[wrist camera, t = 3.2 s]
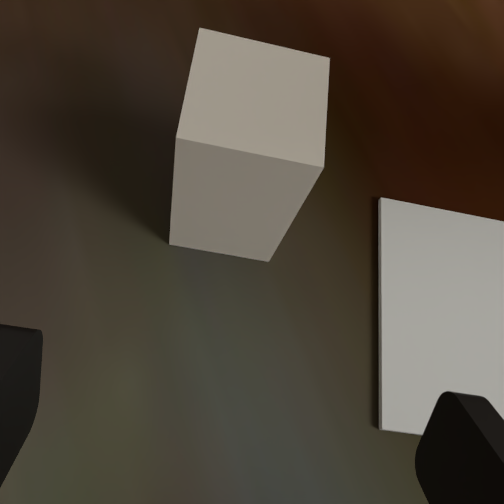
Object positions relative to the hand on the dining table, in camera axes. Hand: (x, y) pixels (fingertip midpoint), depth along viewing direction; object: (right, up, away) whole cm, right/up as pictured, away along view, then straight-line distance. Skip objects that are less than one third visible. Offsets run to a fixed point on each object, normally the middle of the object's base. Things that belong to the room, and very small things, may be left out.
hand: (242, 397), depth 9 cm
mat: (+14, -1, +19) cm, 24 cm away
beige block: (-1, +6, +19) cm, 20 cm away
